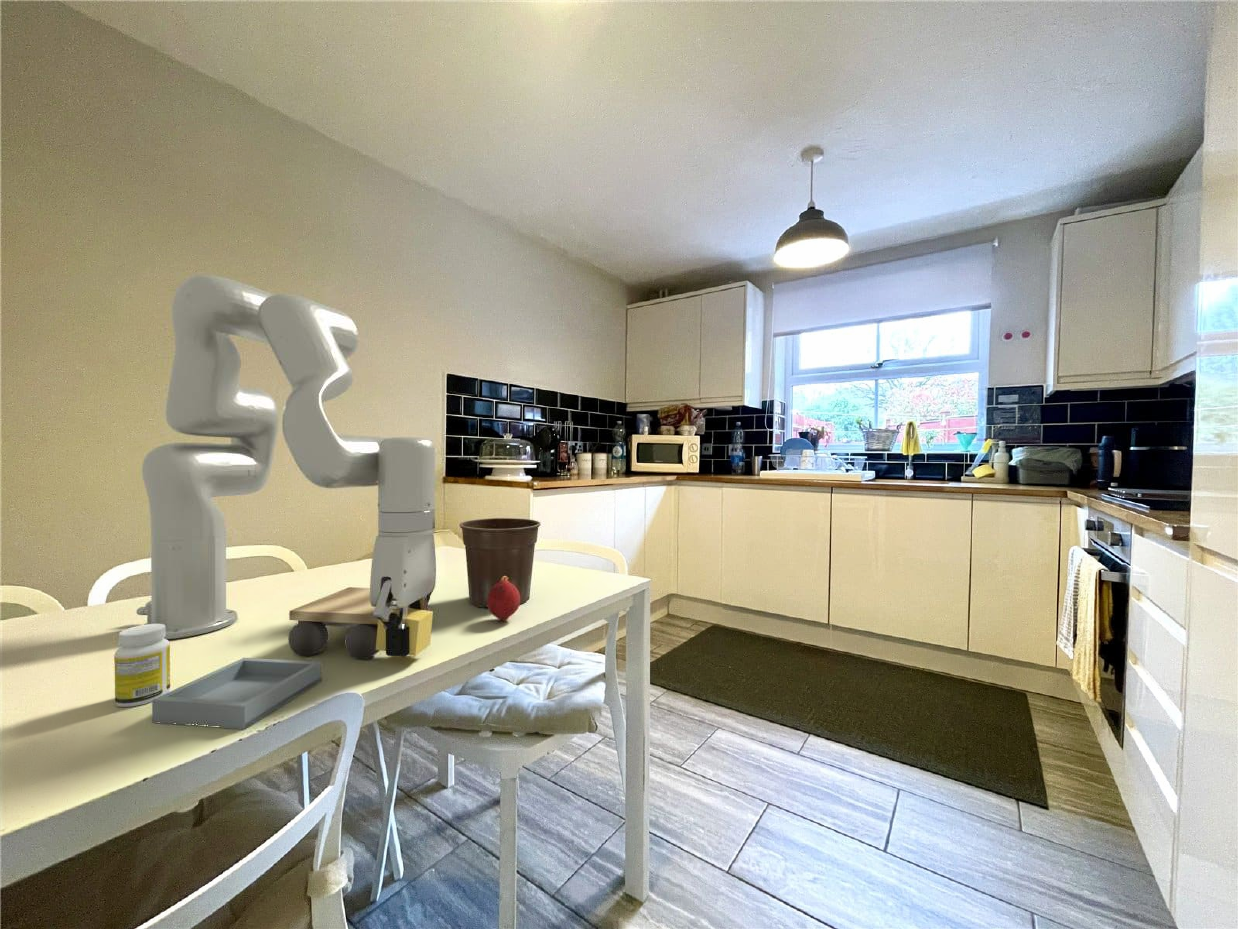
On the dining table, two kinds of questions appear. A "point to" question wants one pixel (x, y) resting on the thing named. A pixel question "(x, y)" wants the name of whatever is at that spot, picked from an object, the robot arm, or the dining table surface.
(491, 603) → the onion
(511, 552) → the plant pot
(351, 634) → the dolly
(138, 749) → the dining table surface
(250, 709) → the tray
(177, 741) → the dining table surface
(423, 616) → the block
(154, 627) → the supplement bottle
